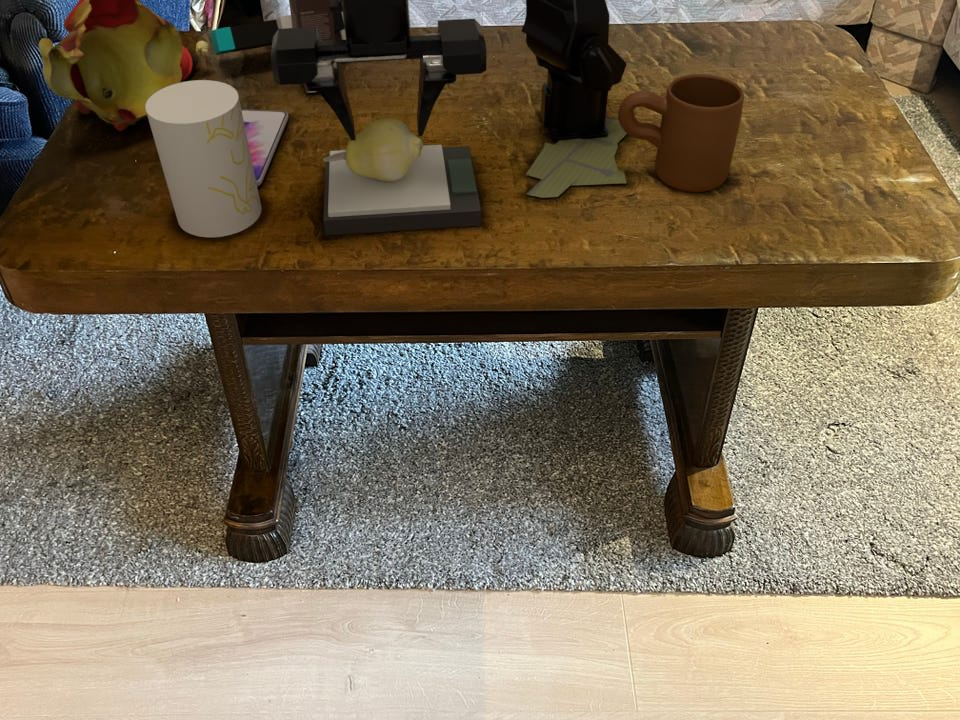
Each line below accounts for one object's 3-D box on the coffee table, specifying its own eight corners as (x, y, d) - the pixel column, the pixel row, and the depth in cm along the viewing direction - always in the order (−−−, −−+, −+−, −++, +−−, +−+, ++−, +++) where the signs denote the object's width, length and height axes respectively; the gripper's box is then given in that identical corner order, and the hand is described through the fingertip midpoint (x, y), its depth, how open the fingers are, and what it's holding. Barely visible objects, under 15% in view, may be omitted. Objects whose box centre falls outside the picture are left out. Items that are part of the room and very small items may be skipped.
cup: (242, 241, 84) (216, 127, 76) (163, 231, 86) (128, 118, 77) (273, 195, 90) (252, 84, 82) (198, 186, 91) (170, 76, 83)
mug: (613, 193, 90) (623, 108, 84) (609, 154, 96) (618, 71, 89) (733, 195, 90) (752, 110, 83) (721, 156, 95) (739, 73, 89)
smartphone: (289, 110, 101) (259, 182, 90) (290, 117, 102) (260, 189, 91) (226, 108, 101) (188, 179, 90) (227, 114, 102) (190, 186, 91)
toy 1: (221, 65, 103) (132, 14, 105) (174, -14, 89) (72, -72, 91) (146, 168, 101) (56, 113, 103) (85, 104, 86) (-18, 42, 88)
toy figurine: (151, 85, 110) (141, 85, 103) (143, 47, 109) (132, 45, 102) (216, 78, 112) (211, 78, 104) (210, 41, 110) (204, 38, 103)
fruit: (328, 154, 90) (425, 143, 90) (327, 200, 87) (428, 188, 87) (314, 112, 85) (417, 100, 85) (313, 159, 82) (420, 147, 82)
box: (343, 88, 106) (331, -13, 98) (305, 94, 105) (290, -8, 97) (333, 67, 110) (321, -33, 102) (297, 72, 109) (281, -28, 101)
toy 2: (205, 25, 111) (356, 1, 117) (215, 66, 113) (365, 40, 119) (213, 15, 102) (377, -11, 108) (225, 60, 104) (385, 32, 110)
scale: (469, 160, 95) (469, 140, 93) (481, 225, 86) (481, 204, 84) (327, 169, 94) (325, 149, 92) (325, 235, 85) (322, 214, 83)
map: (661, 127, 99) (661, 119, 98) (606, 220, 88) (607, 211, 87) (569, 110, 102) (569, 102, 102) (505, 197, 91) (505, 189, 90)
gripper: (473, -69, 81) (475, 91, 92) (265, -59, 79) (292, 101, 90) (486, -22, 73) (487, 146, 84) (256, -11, 71) (287, 159, 82)
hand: (387, 136), depth 85 cm, fingers closed on fruit, 6 cm apart
